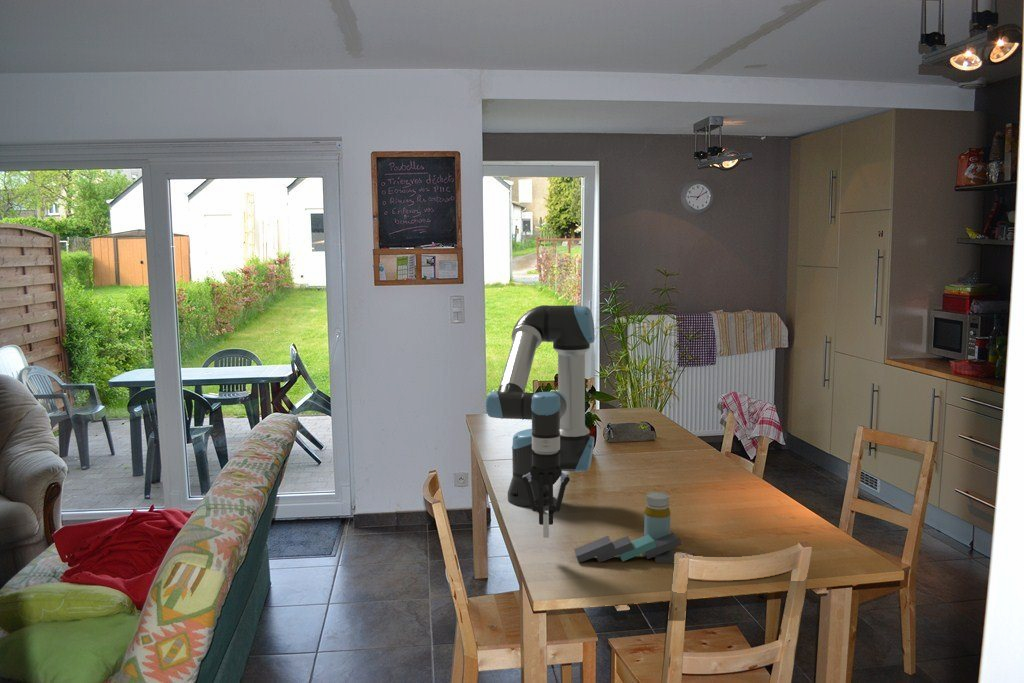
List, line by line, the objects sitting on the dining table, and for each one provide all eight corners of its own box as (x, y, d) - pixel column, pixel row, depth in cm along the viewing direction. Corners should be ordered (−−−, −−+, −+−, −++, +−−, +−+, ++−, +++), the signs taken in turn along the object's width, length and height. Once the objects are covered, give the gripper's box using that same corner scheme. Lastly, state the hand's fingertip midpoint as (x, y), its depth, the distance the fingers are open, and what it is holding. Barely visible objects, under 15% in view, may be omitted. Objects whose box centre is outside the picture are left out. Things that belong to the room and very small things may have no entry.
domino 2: (596, 556, 204) (631, 542, 204) (593, 548, 209) (628, 535, 209) (598, 562, 204) (633, 549, 204) (596, 555, 209) (630, 542, 209)
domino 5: (655, 558, 204) (694, 559, 203) (653, 550, 208) (691, 551, 208) (655, 565, 204) (693, 566, 203) (653, 557, 209) (690, 558, 208)
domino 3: (620, 555, 204) (654, 540, 205) (614, 548, 209) (648, 534, 210) (622, 561, 204) (656, 547, 205) (617, 554, 209) (650, 540, 210)
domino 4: (645, 552, 204) (679, 538, 206) (639, 546, 209) (672, 532, 211) (647, 559, 205) (681, 544, 206) (641, 553, 210) (674, 539, 211)
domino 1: (576, 556, 204) (611, 542, 203) (574, 549, 209) (608, 535, 208) (578, 563, 204) (613, 549, 204) (576, 555, 209) (610, 542, 209)
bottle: (666, 541, 218) (667, 490, 216) (672, 551, 211) (673, 499, 209) (641, 542, 218) (642, 491, 216) (647, 552, 211) (648, 499, 209)
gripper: (520, 454, 200) (521, 540, 203) (570, 454, 199) (570, 541, 203) (521, 446, 207) (522, 530, 211) (570, 447, 207) (569, 530, 210)
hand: (546, 535), depth 207 cm, fingers closed
